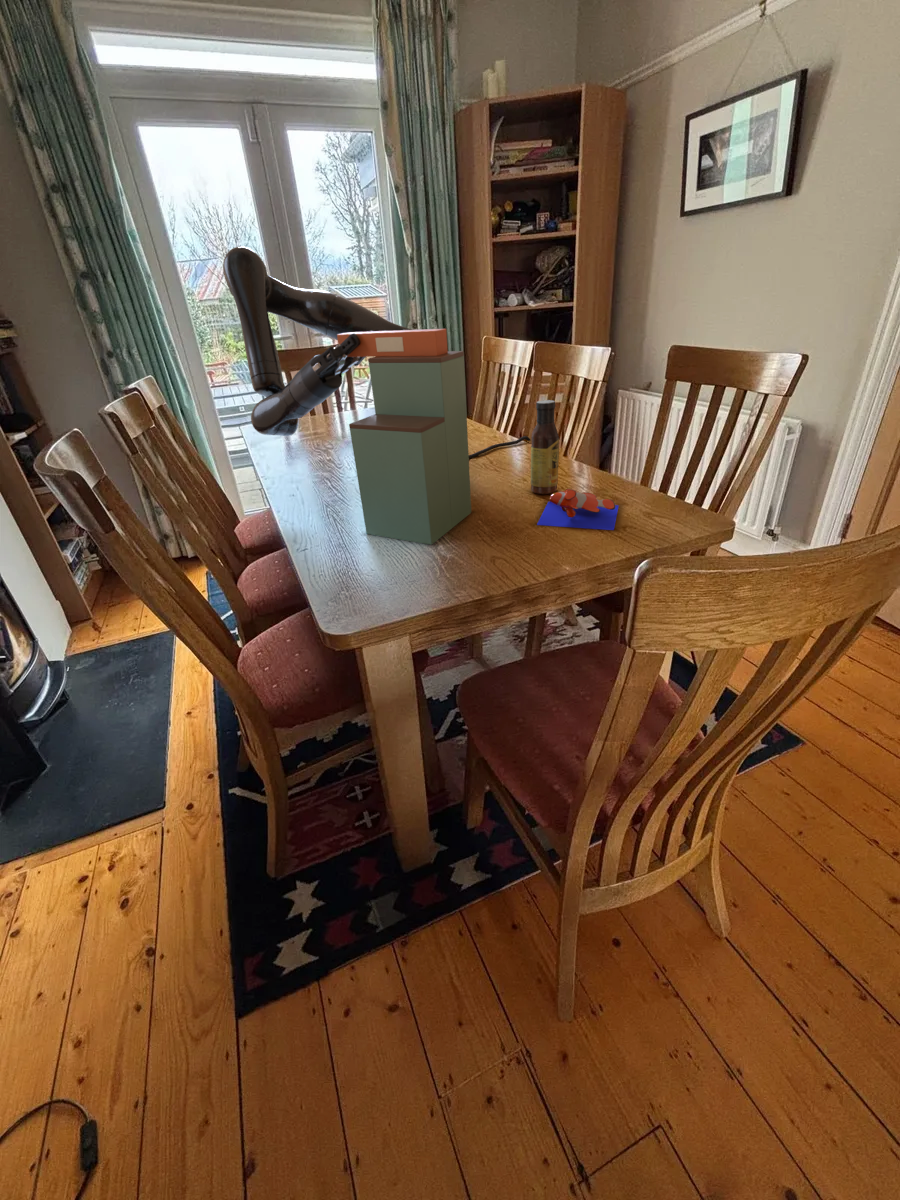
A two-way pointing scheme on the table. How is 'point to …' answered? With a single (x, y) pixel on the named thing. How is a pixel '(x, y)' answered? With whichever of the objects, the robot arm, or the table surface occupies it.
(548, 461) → the sauce bottle
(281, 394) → the robot arm
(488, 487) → the table surface
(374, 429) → the stand
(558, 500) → the fish
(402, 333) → the box
